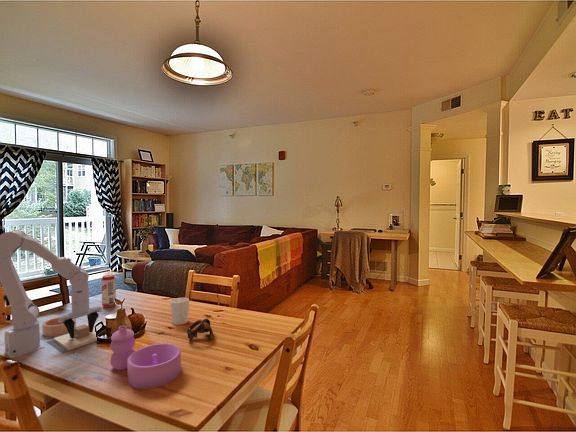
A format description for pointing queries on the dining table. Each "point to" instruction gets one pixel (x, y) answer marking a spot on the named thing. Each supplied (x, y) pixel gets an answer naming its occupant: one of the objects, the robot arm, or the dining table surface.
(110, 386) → the dining table surface
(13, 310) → the robot arm
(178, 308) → the white cup
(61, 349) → the mat
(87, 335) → the lid
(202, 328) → the dark brown arched piece
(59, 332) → the bowl
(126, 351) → the container set
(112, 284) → the beer can
